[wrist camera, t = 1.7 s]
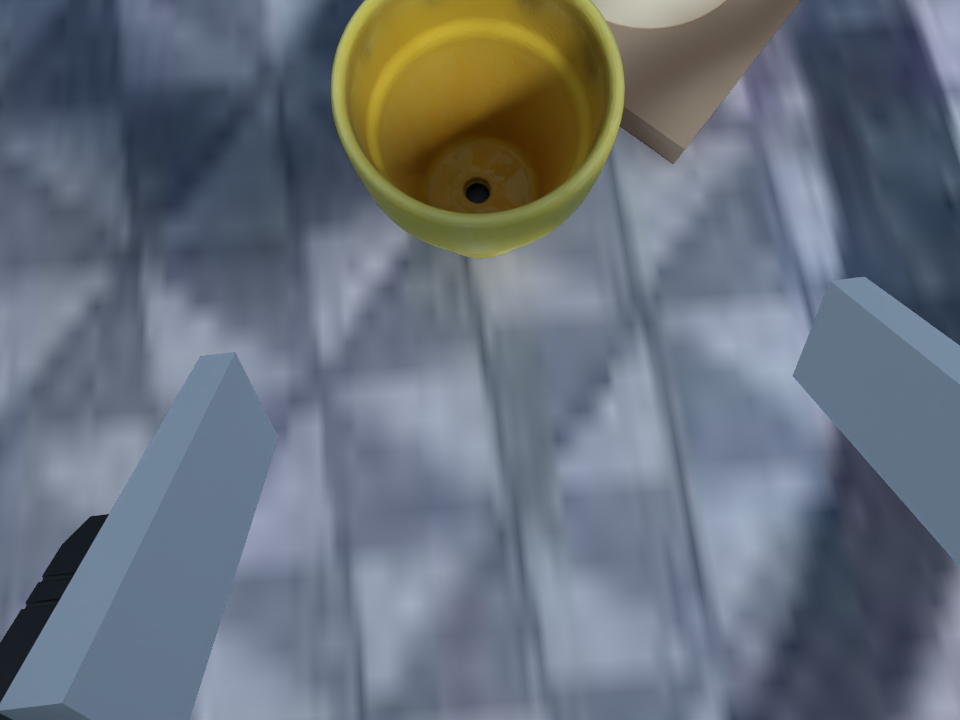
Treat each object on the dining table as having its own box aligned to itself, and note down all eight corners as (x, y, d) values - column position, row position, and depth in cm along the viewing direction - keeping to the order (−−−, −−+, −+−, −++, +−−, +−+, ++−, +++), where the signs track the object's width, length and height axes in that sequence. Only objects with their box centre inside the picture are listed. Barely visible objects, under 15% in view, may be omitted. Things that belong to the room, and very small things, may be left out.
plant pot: (355, 258, 27) (281, 169, 17) (420, 85, 28) (387, -93, 18) (541, 321, 26) (575, 266, 16) (600, 143, 27) (666, -8, 18)
